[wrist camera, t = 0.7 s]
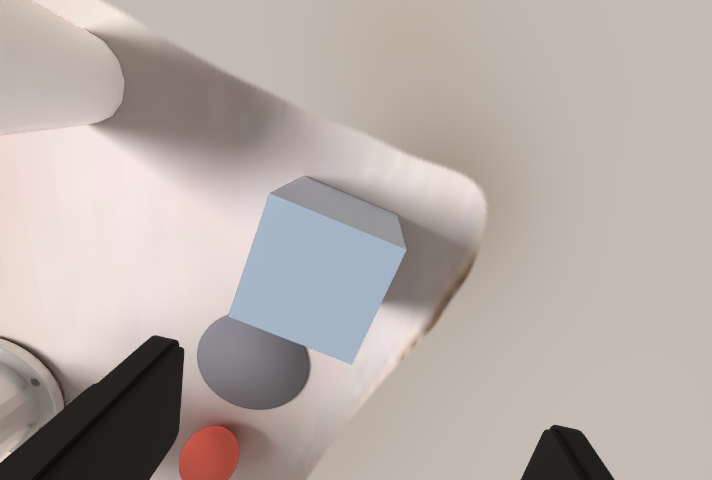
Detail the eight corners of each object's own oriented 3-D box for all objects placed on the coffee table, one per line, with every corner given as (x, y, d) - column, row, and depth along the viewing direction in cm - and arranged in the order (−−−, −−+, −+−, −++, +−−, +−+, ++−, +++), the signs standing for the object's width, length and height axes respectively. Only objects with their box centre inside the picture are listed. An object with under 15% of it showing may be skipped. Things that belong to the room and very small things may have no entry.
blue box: (358, 298, 29) (351, 364, 20) (272, 263, 28) (228, 316, 20) (397, 214, 27) (406, 249, 18) (303, 175, 26) (269, 193, 18)
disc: (231, 420, 33) (230, 421, 33) (177, 333, 31) (176, 334, 31) (326, 389, 32) (325, 391, 31) (277, 296, 29) (277, 297, 29)
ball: (212, 460, 35) (186, 511, 30) (187, 421, 33) (155, 469, 29) (256, 447, 34) (236, 497, 29) (231, 407, 33) (207, 453, 28)
